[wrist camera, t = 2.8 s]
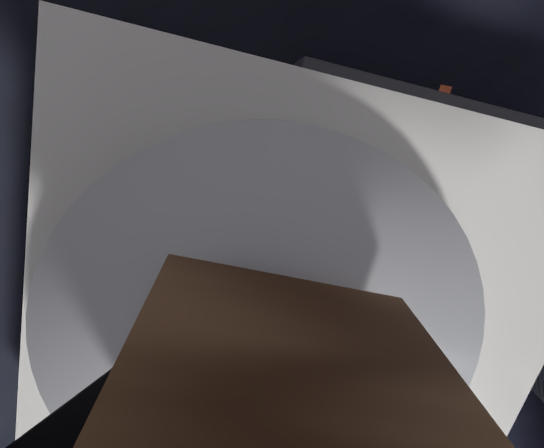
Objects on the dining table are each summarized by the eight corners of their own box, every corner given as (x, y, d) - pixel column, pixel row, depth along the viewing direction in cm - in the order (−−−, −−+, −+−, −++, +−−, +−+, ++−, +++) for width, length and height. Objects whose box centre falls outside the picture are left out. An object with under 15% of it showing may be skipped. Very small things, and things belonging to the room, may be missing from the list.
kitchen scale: (569, 128, 11) (703, 142, 8) (421, 463, 15) (471, 569, 12) (93, 4, 10) (11, -43, 6) (56, 414, 13) (-8, 521, 10)
